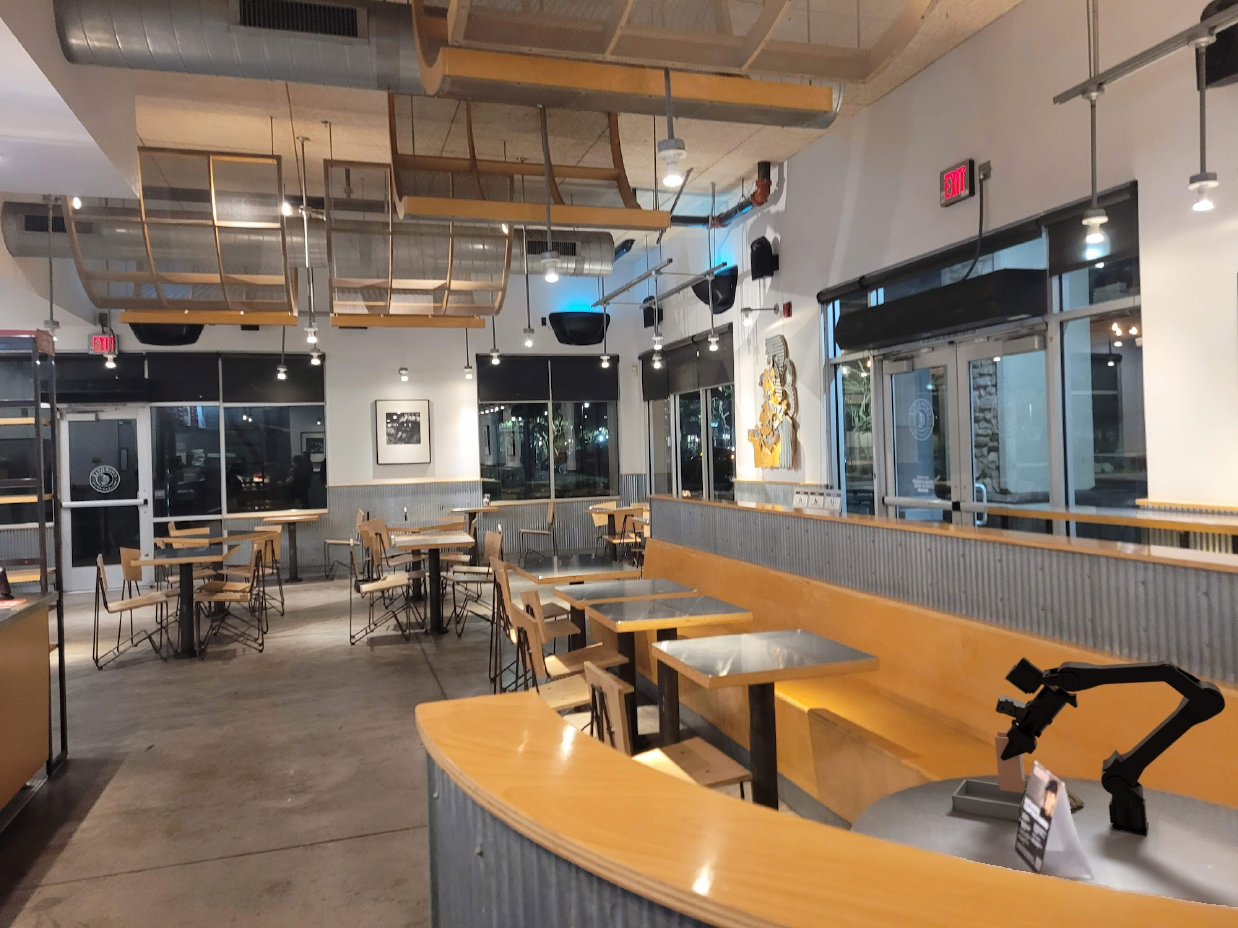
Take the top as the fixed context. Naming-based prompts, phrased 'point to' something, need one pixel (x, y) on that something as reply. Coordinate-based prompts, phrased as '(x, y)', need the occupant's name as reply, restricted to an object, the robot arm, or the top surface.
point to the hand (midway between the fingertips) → (1003, 755)
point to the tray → (988, 800)
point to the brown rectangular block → (1009, 767)
